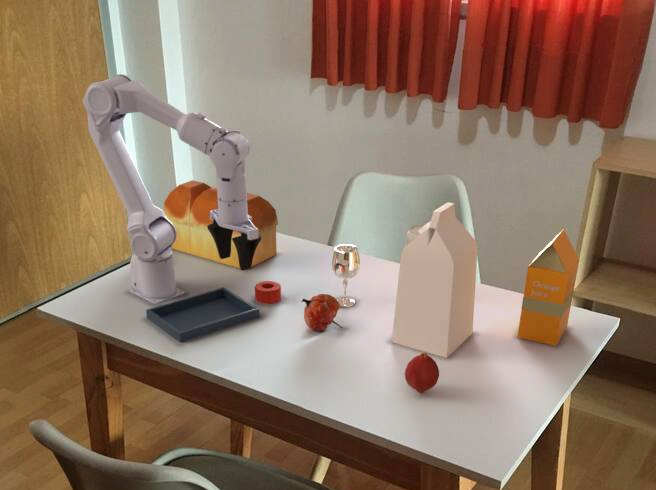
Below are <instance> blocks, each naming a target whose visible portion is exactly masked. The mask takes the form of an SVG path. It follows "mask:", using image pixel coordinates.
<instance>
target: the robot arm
mask: <svg viewBox="0 0 656 490" xmlns="http://www.w3.org/2000/svg"><path fill="white" fill-rule="evenodd" d="M82 104H83V106H84V108H85V110H86V112H87V113H86V115H87V126H88V133H89V135H90V137H91V139H92V141H93V143H94V146H95V148H96V150H97V152H98V154H99V156H100V157H101V160H102V163H103V164H104V167H105V169H106V171H107V173H108V175H109V177H110V180H111V181H112V183H113V186H114V188H115V190H116V192H117V194H118V196H119V198H120V200H121V202H122V204H123V206H124V209H125V211H126V213H127V214H128V220H127V226H126V232H127V234H128V236H129V246H130V249H131V251H132V252H133V254H132V255H131V258H130V262H129V267H130V276H131V283H132V288H131V289H129V293H132V294H133V295H136V296H138V297H140V298H142V299H144V300H146V301H148V302H150V303H152V304H155V305H158V304H160V303H162V302H165V301H168V300H172V299H174V298H176V297H180V296H181V295H185V293H186V292H185V291H184V290H182V289H180V288H178V287H177V285H176V272H175V261H174V251H173V250H174V249H173V248H172V244H173V243H174V242H175V241H176V238H177V231H176V228H175V226H174V225H173V224H172V222H170V221H169V220H168V219H167V217H166V216H165V214H164V209H161V208H160V207H158V206H156V205H155V204H154V202H153V200H152V198H151V197H150V194H149V192H148V190H147V188H146V186H145V183H144V182H143V179H142V177H141V174H140V172H139V170H138V169H137V166H136V164H135V161H134V159H133V157H132V155H131V154H130V151H129V149H128V146H127V145H126V142H125V140H124V138H123V136H122V134H121V131H120V130H121V127H122V125H123V123H124V119H125V117H126V115H127V114H134V113H141V114H143V115H145V116H146V117H149V118H151V119H152V120H155V121H157V122H159V123H161V124H163V125H165V126H166V127H168V128H171V129H173V130H175V131H176V132H177V135H178V138H179V140H180V141H182V142H184V143H185V144H187V145H188V146H190V147H192V148H194V149H196V150H197V151H200V152H201V153H202V154H204V155H206V156H208V157H209V159H210V160H211V163H212V164H213V165H214V167H215V174H216V175H215V177H216V186H217V197H218V209H216V210H212V211H210V220H211V221H214V222H213V224H209V225H208V226H207V228H208V230H209V231H210V233H211V235H212V237H213V239H214V241H215V244H216V247H217V250H218V253H219V256H220V258H221V259H224V258H228V257H230V255H231V239H232V240H233V242H234V244H235V247H236V249H237V253H238V259H239V266H240V268H239V269H240V271H242V272H244V271H247V270H251V268H252V267H251V265H252V261H253V257H254V253H255V250H256V248H257V246H258V244H259V242H260V241H261V236H260V235H258V228H256V227H255V226H254V225H253V224H252V223H251V220H252V216H250V215H248V212H247V193H248V189H247V188H248V187H247V167H246V166H247V165H246V160H245V159H246V158H247V157H248V156H249V154H250V150H251V149H250V148H251V147H250V144H249V143H250V142H249V140H248V139H247V137H246V136H245V134H243V133H242V132H241V131H240V130H236V129H233V130H228V128H227V127H225V126H223V125H222V126H220V125H217V124H216V123H214V122H213V121H210V120H209V119H207V118H206V114H205V113H203V112H201V111H199V112H197V113H196V112H195V111H194V112H193V111H191V112H188V113H184V112H182V111H181V110H179V109H178V108H176V107H175V106H173V105H171V104H170V103H168V102H167V101H165V100H164V99H162V98H161V97H159V96H158V95H156V94H155V93H153V92H151V91H150V90H149V89H147V88H145V86H144V85H143V84H142V83H141V82H140V81H138V80H135V79H132V78H131V77H129V76H128V75H126V74H123V73H120V74H116V75H114V76H112V77H109V78H107V79H105V80H101V81H96V82H93V83H91V84H89V86H88V87H87V89H86V91H85V94H84V97H83V99H82ZM233 230H235V231H237V232H239V233H241V236H238V237H234V238H232V233H233Z"/></svg>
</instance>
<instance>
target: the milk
mask: <svg viewBox="0 0 656 490" xmlns="http://www.w3.org/2000/svg"><path fill="white" fill-rule="evenodd" d="M455 206H456V205H455V203H454V202H448V201H447V202H445V203H444V204H442V205H441V206H439V207H438V208H436V209H435V210H433V212H432V215H431V219H430V221H428V222H427V223H425V224H423V225H424V226H423V227H422V228H420V229H419V230H418V231H419V233H420V235H419V236H418V237H417V238H415V239H414V240H413V241H411V242H410V243H409V244H408V245H407V246H406V245H405V246H404V248H403V249H402V251H401V255H400V261H399V272H398V279H397V280H398V281H397V290H396V299H395V309H394V317H393V326H392V335H391V343H393V344H397V345H400V346H403V347H407V348H410V349H414V350H418V351H421V352H426V353H427V354H432V355H435V356H438V357H441V358H446V359H447V358H448V357H449V356H450V355H451V354H452V353H453V352H455V351H456V350H457V348H459V347H460V346H461V345H462V344H463V343H464V342H466V340H467V339H468V338H469V337H470V336H472V335H473V331H474V315H475V314H474V313H475V297H476V282H477V281H476V279H477V265H478V264H477V262H478V244H477V242H476V239H475V238H474V236H473V235H471V233H470V232H469V231H468V230H467V228H466V227H465V226H464V225H463V223H461V221H460V220H459V219H458V218H457V217H456V208H455Z"/></svg>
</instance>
